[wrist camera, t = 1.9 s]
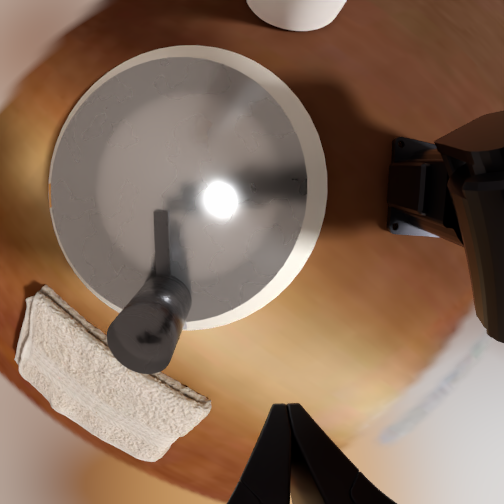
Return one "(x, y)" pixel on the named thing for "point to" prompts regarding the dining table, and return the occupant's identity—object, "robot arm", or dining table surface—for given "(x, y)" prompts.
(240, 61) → the dial base
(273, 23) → the can
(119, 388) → the washcloth
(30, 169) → the dining table surface
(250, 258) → the dial
